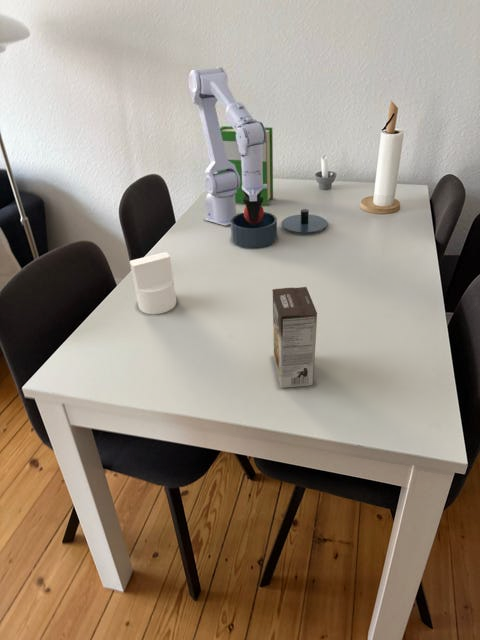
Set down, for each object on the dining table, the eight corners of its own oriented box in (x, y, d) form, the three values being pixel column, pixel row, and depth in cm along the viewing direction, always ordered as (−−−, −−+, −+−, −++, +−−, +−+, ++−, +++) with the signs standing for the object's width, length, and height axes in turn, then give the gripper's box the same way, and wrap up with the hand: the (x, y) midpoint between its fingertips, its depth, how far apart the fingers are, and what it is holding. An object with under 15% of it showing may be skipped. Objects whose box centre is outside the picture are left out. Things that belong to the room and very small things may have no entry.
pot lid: (272, 228, 147) (272, 213, 144) (298, 214, 156) (298, 199, 153) (310, 239, 139) (311, 223, 136) (336, 223, 148) (337, 207, 145)
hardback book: (273, 198, 169) (272, 127, 156) (267, 205, 163) (265, 132, 150) (227, 194, 174) (222, 126, 161) (219, 201, 169) (214, 131, 155)
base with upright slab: (145, 318, 108) (136, 271, 102) (133, 300, 115) (124, 256, 108) (182, 307, 112) (175, 261, 105) (168, 290, 118) (162, 246, 112)
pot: (222, 241, 141) (221, 222, 138) (251, 226, 149) (250, 208, 146) (258, 252, 133) (257, 232, 130) (285, 236, 142) (286, 217, 138)
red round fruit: (264, 221, 141) (264, 195, 137) (263, 228, 136) (262, 202, 132) (245, 221, 142) (243, 195, 137) (243, 229, 137) (242, 202, 132)
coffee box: (272, 358, 94) (271, 288, 85) (304, 355, 94) (307, 285, 85) (279, 389, 87) (279, 315, 78) (314, 385, 87) (318, 312, 78)
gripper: (267, 177, 124) (268, 226, 131) (265, 161, 136) (266, 207, 143) (240, 178, 124) (243, 227, 132) (241, 162, 136) (243, 208, 144)
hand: (253, 216), depth 137 cm, fingers closed on red round fruit, 6 cm apart
